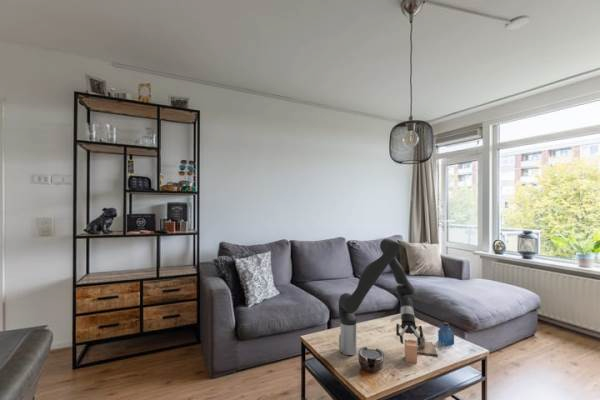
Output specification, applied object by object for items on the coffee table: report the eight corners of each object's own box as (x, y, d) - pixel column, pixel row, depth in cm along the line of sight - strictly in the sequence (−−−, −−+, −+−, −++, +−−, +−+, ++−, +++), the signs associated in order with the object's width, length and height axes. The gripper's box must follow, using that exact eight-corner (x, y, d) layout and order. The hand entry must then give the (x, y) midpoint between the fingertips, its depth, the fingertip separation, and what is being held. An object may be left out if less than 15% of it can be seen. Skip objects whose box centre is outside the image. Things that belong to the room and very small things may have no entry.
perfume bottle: (445, 339, 177) (445, 320, 177) (454, 343, 172) (453, 324, 172) (438, 340, 175) (438, 321, 175) (446, 345, 169) (446, 325, 169)
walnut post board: (411, 353, 161) (411, 340, 161) (408, 341, 175) (408, 330, 175) (437, 356, 158) (437, 343, 158) (432, 343, 171) (432, 332, 171)
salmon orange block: (406, 361, 153) (405, 345, 153) (404, 356, 158) (404, 340, 158) (417, 362, 151) (416, 346, 151) (415, 357, 157) (415, 341, 157)
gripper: (395, 311, 166) (397, 340, 154) (421, 314, 162) (425, 343, 151) (394, 317, 171) (396, 345, 159) (419, 319, 167) (423, 348, 156)
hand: (410, 344), depth 155 cm, fingers open, 8 cm apart
